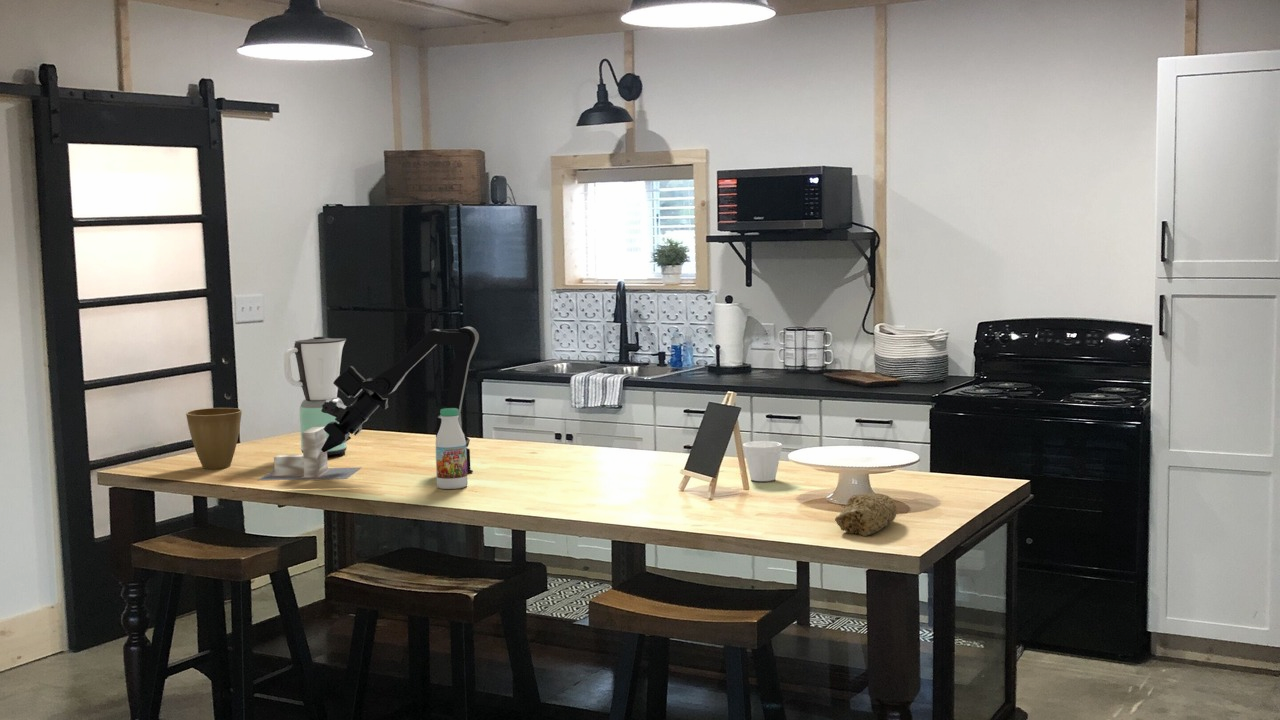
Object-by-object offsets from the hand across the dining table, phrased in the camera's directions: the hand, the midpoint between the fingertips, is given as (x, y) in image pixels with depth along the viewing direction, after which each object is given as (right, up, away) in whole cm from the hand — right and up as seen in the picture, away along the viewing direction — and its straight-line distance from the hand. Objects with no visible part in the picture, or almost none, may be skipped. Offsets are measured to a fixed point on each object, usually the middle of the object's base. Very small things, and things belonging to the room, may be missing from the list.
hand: (322, 450), depth 341 cm
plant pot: (-34, -6, +17) cm, 39 cm away
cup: (+117, -6, -21) cm, 119 cm away
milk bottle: (+38, -8, -20) cm, 44 cm away
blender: (-8, -4, +32) cm, 33 cm away
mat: (-3, -7, +1) cm, 7 cm away
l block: (-6, -6, +1) cm, 9 cm away
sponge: (+134, -11, -73) cm, 153 cm away
